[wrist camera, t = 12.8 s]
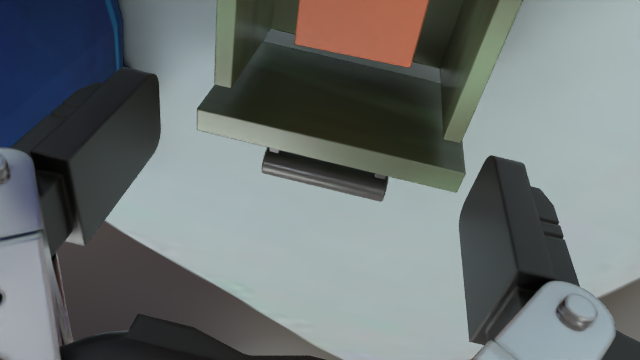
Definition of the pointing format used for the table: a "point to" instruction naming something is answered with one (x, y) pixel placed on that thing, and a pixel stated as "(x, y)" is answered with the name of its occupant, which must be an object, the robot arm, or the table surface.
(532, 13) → the table surface
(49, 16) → the book
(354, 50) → the block
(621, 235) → the table surface
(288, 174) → the green open box
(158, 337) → the robot arm
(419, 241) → the table surface
